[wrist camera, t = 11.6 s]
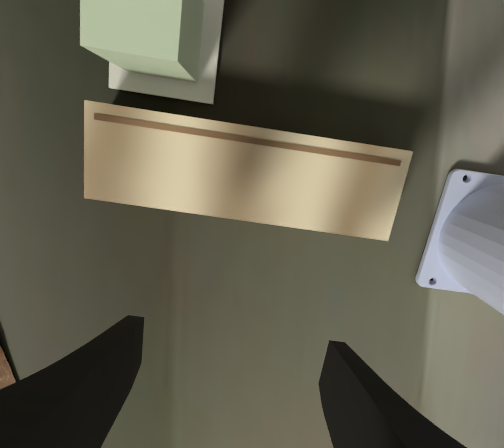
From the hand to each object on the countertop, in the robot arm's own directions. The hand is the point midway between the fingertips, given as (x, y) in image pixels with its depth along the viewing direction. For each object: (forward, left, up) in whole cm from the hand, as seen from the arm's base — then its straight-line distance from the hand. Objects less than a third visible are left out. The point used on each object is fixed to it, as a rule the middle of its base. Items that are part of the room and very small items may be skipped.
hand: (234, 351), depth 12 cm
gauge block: (+6, -13, -9) cm, 17 cm away
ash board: (+1, -6, -9) cm, 11 cm away
